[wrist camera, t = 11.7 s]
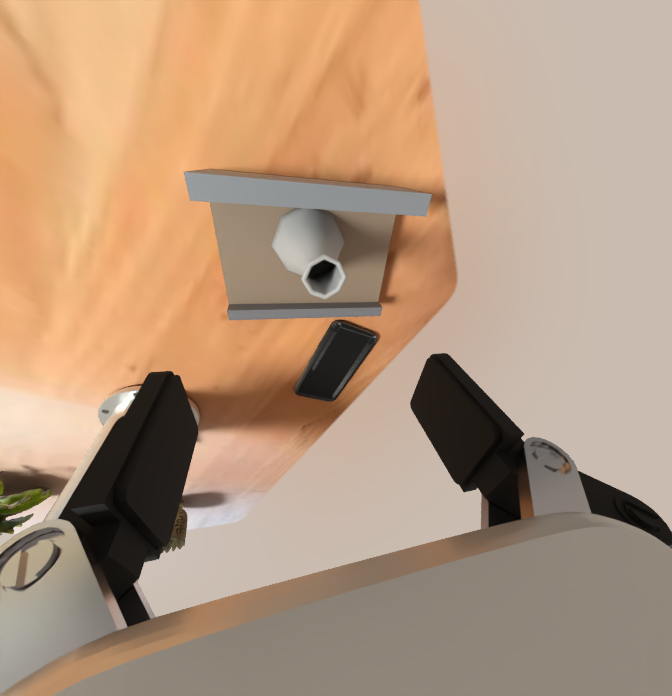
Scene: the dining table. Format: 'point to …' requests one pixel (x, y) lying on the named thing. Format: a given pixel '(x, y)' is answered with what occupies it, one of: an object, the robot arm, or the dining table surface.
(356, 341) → the phone
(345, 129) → the dining table surface
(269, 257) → the wall shelf
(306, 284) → the flask
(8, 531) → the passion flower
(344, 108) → the dining table surface
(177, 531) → the cup
